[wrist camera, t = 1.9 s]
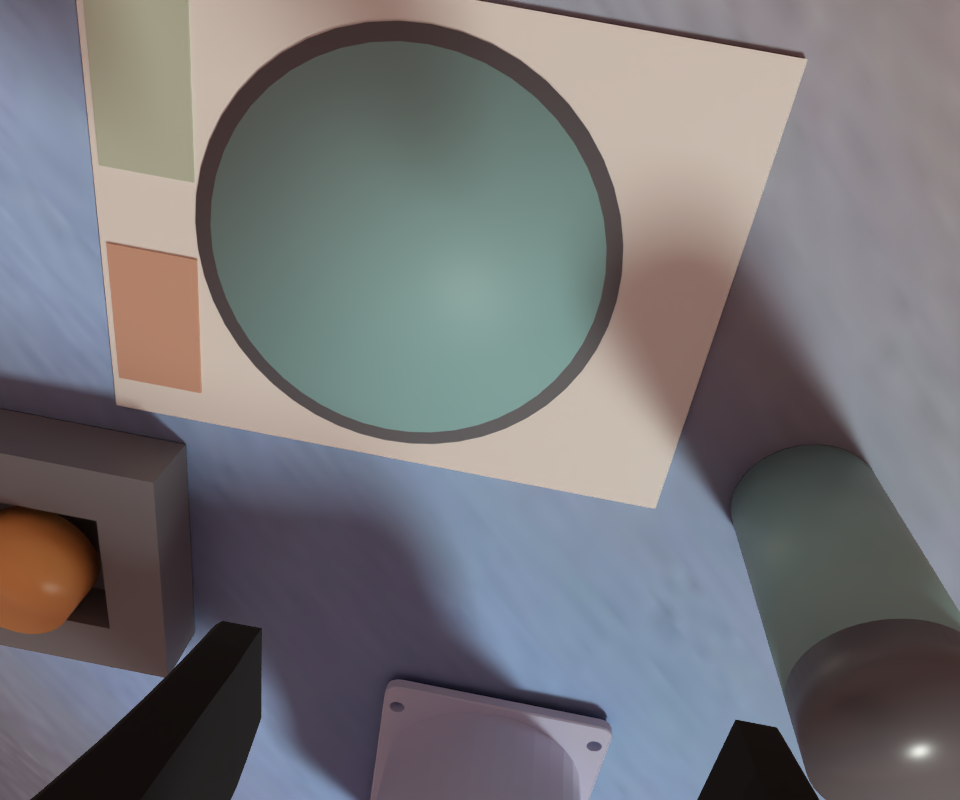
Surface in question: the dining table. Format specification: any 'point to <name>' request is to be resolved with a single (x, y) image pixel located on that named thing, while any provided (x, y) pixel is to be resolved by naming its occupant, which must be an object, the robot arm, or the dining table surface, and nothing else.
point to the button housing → (109, 537)
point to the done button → (42, 569)
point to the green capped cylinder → (853, 627)
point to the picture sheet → (424, 225)
